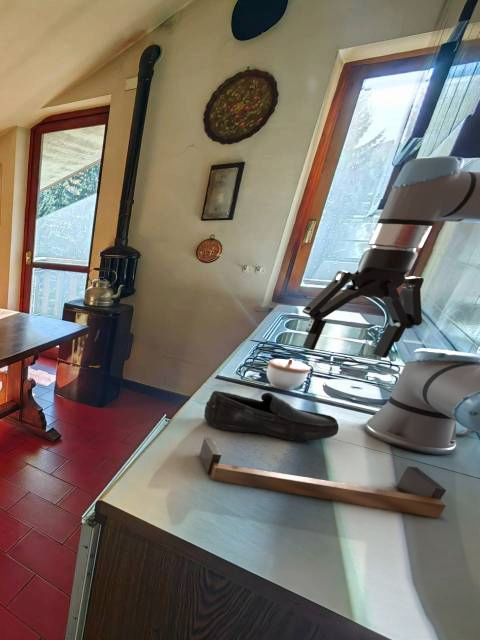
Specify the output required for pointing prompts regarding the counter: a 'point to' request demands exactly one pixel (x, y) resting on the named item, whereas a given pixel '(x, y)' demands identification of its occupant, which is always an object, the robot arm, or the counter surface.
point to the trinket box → (286, 373)
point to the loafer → (267, 417)
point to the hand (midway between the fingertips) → (343, 352)
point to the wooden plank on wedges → (334, 486)
